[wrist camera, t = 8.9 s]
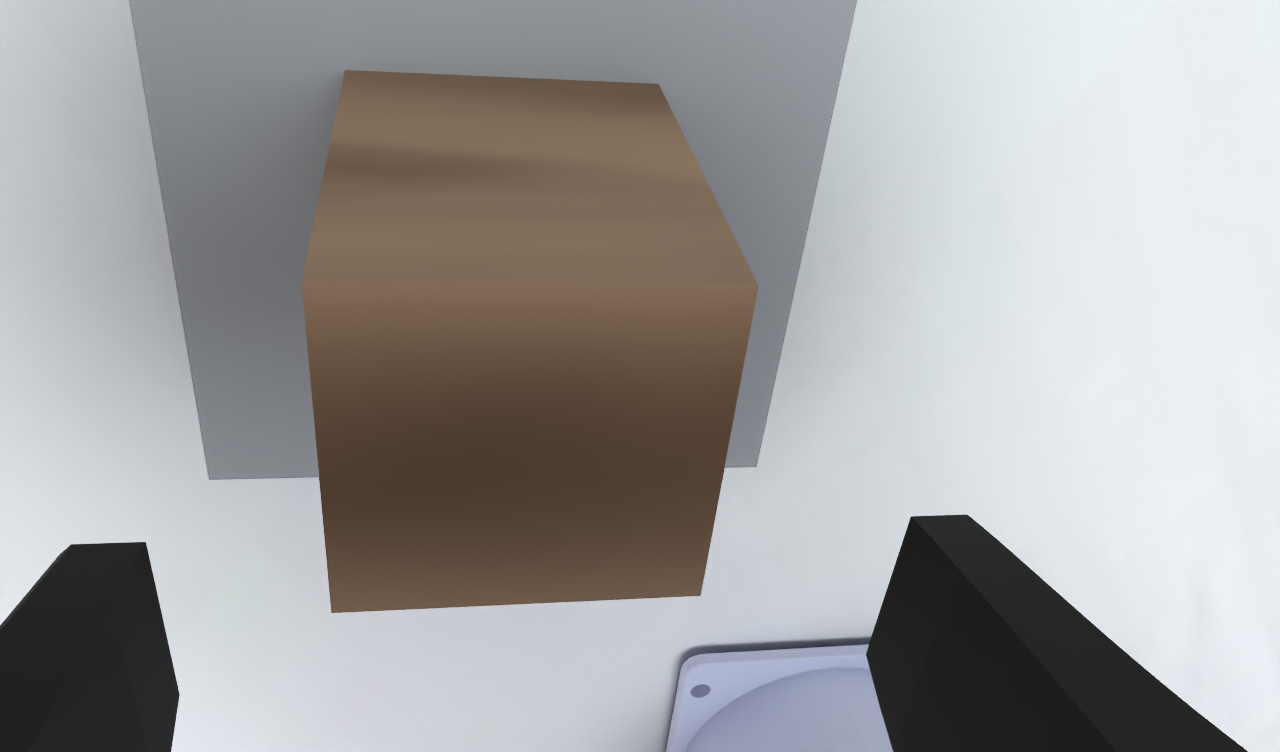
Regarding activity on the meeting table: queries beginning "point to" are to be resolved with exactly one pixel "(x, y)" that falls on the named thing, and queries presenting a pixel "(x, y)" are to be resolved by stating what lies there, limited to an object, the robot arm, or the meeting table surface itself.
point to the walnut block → (518, 343)
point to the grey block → (454, 45)
